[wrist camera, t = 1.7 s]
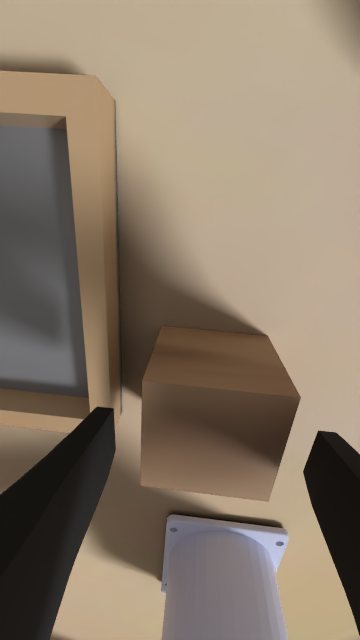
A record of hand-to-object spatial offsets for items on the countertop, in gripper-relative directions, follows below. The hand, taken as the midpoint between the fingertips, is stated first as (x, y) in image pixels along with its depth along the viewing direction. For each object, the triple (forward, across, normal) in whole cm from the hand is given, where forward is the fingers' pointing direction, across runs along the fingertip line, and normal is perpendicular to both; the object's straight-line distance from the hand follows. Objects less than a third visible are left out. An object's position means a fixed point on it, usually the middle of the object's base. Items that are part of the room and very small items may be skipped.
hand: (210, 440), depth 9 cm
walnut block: (+4, 0, 0) cm, 4 cm away
